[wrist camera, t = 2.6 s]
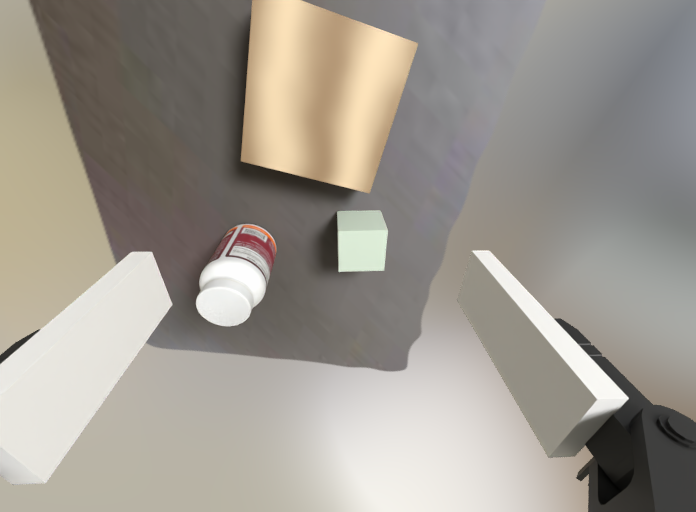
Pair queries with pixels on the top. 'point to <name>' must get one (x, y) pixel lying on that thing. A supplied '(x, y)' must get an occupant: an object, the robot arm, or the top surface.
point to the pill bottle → (236, 275)
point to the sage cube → (361, 240)
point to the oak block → (320, 92)
